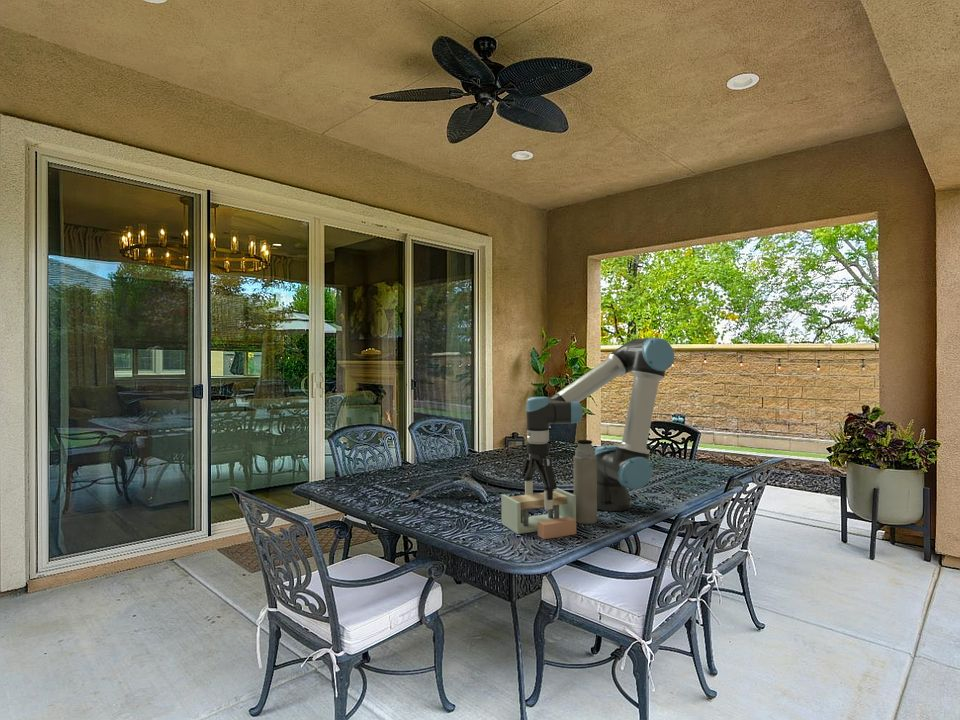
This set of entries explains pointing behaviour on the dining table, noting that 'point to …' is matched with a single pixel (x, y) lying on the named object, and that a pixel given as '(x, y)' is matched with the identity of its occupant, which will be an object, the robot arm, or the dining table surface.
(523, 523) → the peg frame
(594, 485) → the thermos bottle
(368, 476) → the dining table surface
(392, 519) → the dining table surface
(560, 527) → the terracotta brick
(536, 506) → the oak shelf board
